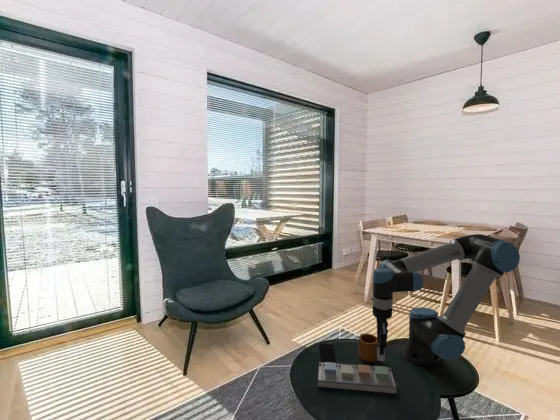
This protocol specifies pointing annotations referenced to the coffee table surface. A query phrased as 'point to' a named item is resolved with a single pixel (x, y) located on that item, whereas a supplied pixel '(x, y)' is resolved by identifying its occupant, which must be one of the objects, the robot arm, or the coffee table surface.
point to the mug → (368, 347)
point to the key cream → (346, 371)
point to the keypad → (356, 380)
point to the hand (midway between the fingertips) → (381, 359)
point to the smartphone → (327, 353)
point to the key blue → (330, 368)
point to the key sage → (381, 372)
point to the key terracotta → (364, 371)
